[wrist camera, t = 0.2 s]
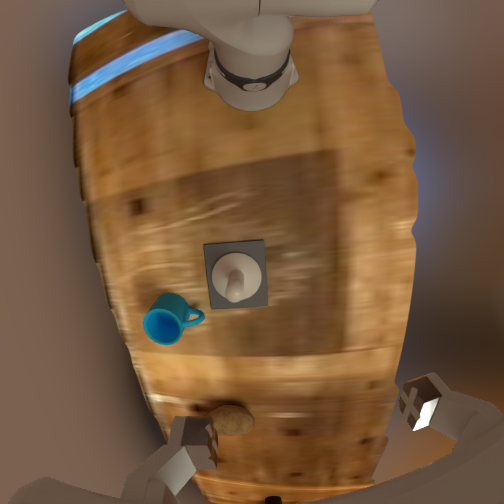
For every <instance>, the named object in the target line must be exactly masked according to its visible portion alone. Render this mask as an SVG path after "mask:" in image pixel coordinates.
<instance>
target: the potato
mask: <svg viewBox="0 0 504 504" xmlns="http://www.w3.org/2000/svg"><path fill="white" fill-rule="evenodd" d="M205 416H211V417H212V418H213V421H214V425H213V427H214V428H216V431H217V435H224V436H233V435H240V434H246V433H249V432H250V431H251V430H252V429H253V428H254V424H255V419H254V417H253V416H252V414H251V413H250V412H249V411H248V410H247V409H245V408H243V407H240V406H236V405H223V406H219V407H217V408H216V409H214V410H212V411H210V412H208V413H207V414H206V415H205Z"/></svg>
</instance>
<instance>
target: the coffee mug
mask: <svg viewBox="0 0 504 504" xmlns="http://www.w3.org/2000/svg"><path fill="white" fill-rule="evenodd" d="M265 504H282V501H281V497H278V496H270V497H267V498H266V499H265Z"/></svg>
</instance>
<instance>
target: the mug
mask: <svg viewBox="0 0 504 504" xmlns="http://www.w3.org/2000/svg"><path fill="white" fill-rule="evenodd" d="M190 314H196V315H199V317H198V318H196V319H193V320H190V321H188V319H189V317H190ZM204 318H205V315H204V313H203V312H202V311H201V310H198V309H191V308H189V305H188V303H187V302H186V301H185V299H183V298H182V297H181V296H179V295H177V294H172V293H168V294H163V295H162V296H160V297H159V298H158V300H157V301H156V302H155V304H154V305H153V306H152V307H151V309H150V310H149V311H148V313H147V314H146V315H145V317H144V321H143V326H144V330H145V332H146V334H147V335H148V336H149V338H150V339H152V340H153V341H154V342H156V343H159V344H162V345H171V344H174V343H176V342H177V341H178V340H179V339H180V338H181V336H182V333H183V331H184V329H185V327H190V326H194V325H197V324H199V323H200V322H202V321H203V320H204Z"/></svg>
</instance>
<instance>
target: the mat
mask: <svg viewBox="0 0 504 504" xmlns="http://www.w3.org/2000/svg"><path fill="white" fill-rule="evenodd" d="M204 253H205V262H206V270H207V278H208V286H209V294H210V301H211V308H212V309H230V308H246V307H260V306H268V295H267V279H266V263H265V248H264V240H258V241H244V242H231V243H219V244H206V245H204ZM230 253H243V254H246V255H248V256H250V257H252V258H253V259H254V260H255V261H256V262H257V264H258V265H259V267H260V270H261V284H260V286H259V288H258V290H257V291H256V292H255V293H254V294H253V295H252V296H251V297H249V298H247V299H244V300H240V301H239V302H230V301H229V300H228V299H227V298H225V297H223V296H222V295H221V294H219V293H218V291H217V290H216V289H215V287H214V285H213V282H212V271H213V268H214V266H215V264H216V262H217V261H218V260H219V259H220V258H221V257H223V256H224V255H227V254H230Z"/></svg>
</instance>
